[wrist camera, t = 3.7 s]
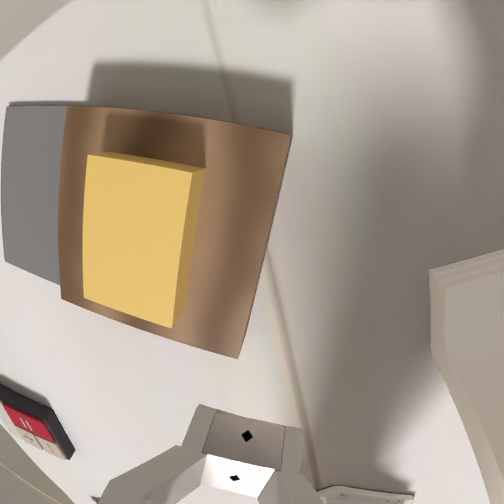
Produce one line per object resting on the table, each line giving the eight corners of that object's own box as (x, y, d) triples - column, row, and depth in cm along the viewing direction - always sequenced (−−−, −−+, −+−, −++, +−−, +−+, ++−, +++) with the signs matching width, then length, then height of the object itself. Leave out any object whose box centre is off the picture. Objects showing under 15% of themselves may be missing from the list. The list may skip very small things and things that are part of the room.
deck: (292, 136, 21) (290, 135, 18) (245, 333, 27) (237, 359, 23) (94, 107, 22) (67, 105, 19) (82, 282, 28) (61, 298, 24)
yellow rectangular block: (205, 168, 19) (192, 172, 17) (184, 310, 23) (171, 328, 20) (109, 151, 19) (87, 154, 17) (101, 283, 23) (83, 297, 21)
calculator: (68, 463, 38) (10, 436, 39) (78, 446, 42) (20, 422, 43) (42, 423, 34) (-16, 394, 36) (56, 405, 38) (-3, 380, 40)
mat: (90, 107, 22) (87, 106, 22) (80, 290, 28) (77, 292, 28) (9, 106, 23) (6, 106, 22) (7, 259, 29) (4, 261, 28)
